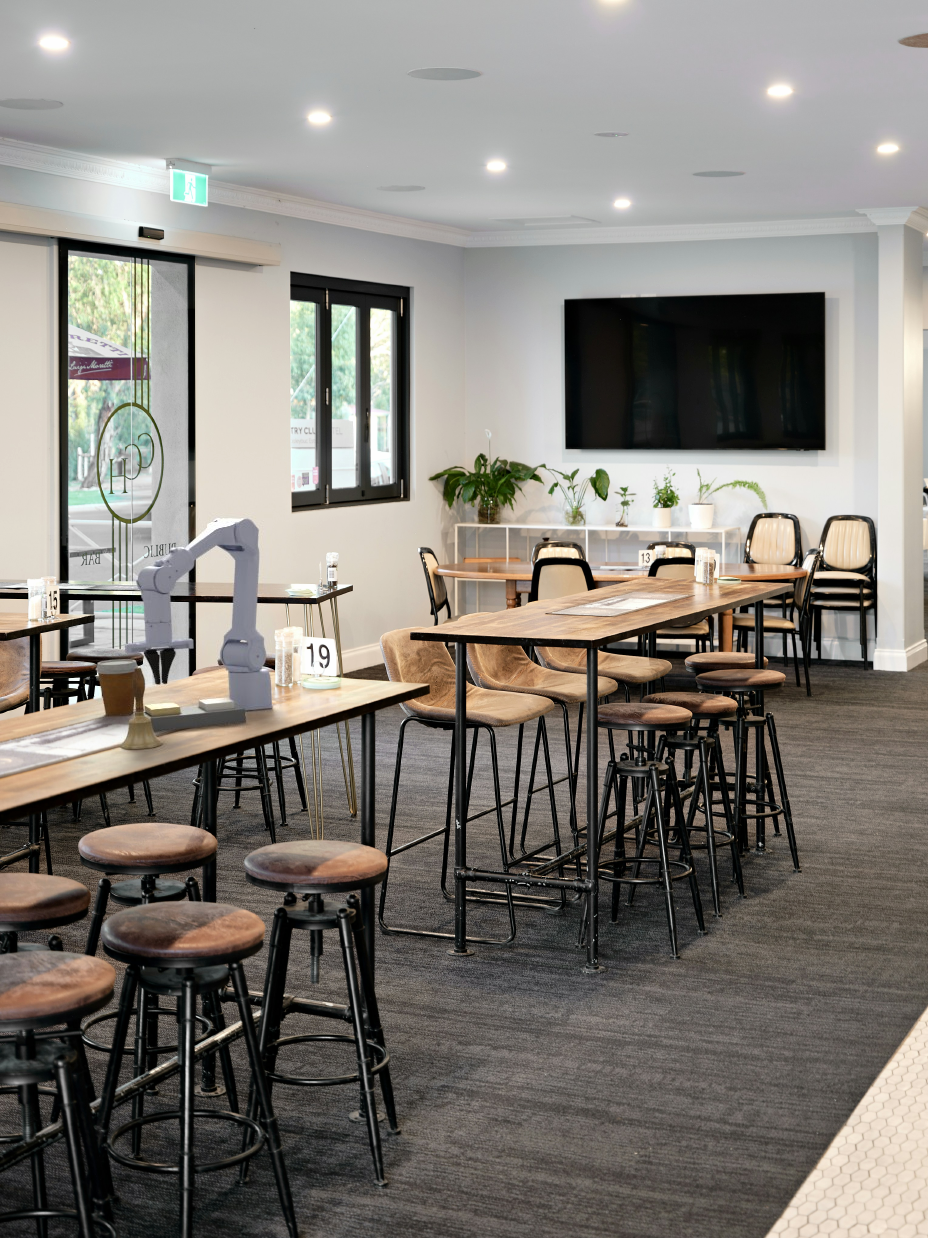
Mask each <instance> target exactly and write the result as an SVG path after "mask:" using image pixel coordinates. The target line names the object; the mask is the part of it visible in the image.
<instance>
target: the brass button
mask: <svg viewBox="0 0 928 1238" xmlns="http://www.w3.org/2000/svg"><path fill="white" fill-rule="evenodd" d="M180 707H181V706H179V705H178V704H176V703H175V702H167V703H166V702H165V703H164V702H163V703H153V704H145V705H144V710H145V713H146V714H147V715H148V716H150V717H153V716H163V715H173V714H181V712H180Z"/></svg>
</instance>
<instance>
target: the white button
mask: <svg viewBox="0 0 928 1238" xmlns="http://www.w3.org/2000/svg"><path fill="white" fill-rule="evenodd" d="M198 705H199V708H200V709H202V710H204V711H213V710H223V709H233V708H234V701H232V700H230V699H229V697H226V696H225V697H216V698H208V699H207V698H205V699H198Z"/></svg>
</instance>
